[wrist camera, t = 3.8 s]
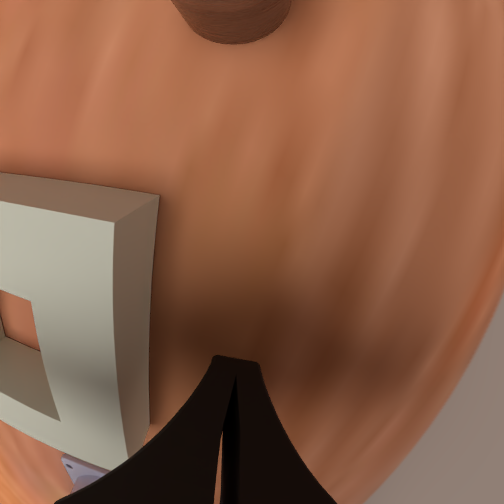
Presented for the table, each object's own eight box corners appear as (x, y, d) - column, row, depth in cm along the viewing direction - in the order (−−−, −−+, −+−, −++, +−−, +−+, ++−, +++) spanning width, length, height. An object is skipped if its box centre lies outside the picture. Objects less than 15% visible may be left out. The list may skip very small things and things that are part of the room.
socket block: (149, 424, 12) (131, 477, 9) (-15, 358, 12) (-44, 390, 9) (159, 194, 9) (114, 222, 6) (-46, 167, 8) (-97, 182, 6)
